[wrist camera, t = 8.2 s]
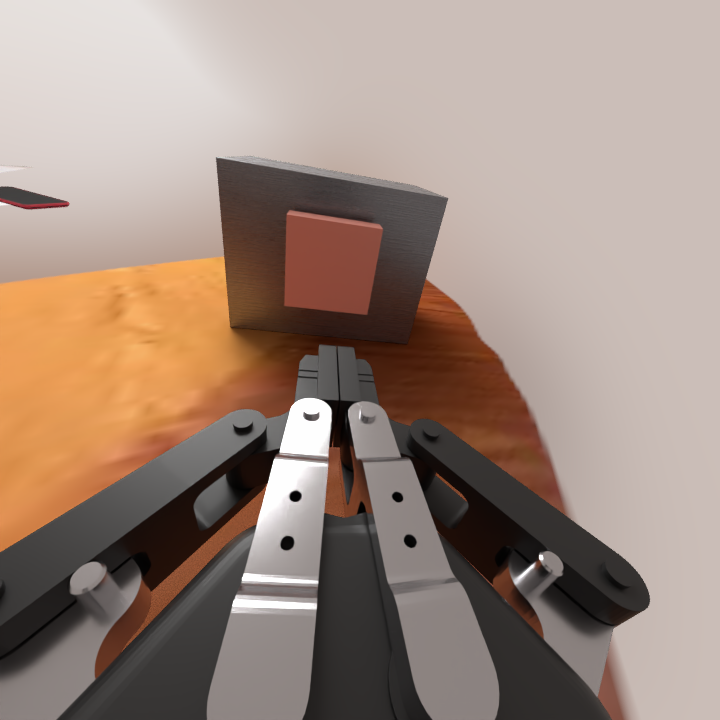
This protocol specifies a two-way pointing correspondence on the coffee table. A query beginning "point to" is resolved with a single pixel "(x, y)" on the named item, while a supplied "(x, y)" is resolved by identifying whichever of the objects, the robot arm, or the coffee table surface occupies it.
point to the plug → (330, 262)
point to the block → (330, 198)
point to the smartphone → (29, 199)
